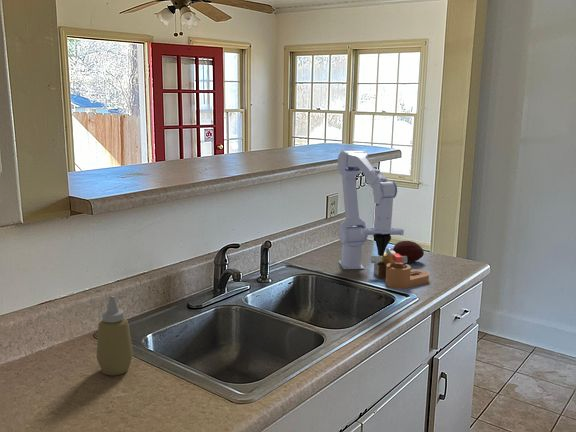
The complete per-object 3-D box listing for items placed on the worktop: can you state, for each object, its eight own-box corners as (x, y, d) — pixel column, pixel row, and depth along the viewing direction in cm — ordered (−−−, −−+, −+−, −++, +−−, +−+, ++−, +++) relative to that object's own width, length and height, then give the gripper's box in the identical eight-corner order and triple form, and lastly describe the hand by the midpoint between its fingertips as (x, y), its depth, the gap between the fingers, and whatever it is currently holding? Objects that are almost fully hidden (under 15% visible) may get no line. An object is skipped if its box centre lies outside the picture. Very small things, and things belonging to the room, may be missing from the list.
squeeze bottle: (113, 382, 122) (110, 306, 118) (89, 372, 126) (85, 298, 122) (141, 368, 129) (138, 295, 125) (117, 358, 133) (114, 288, 129)
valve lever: (385, 252, 200) (385, 247, 200) (391, 252, 200) (391, 247, 200) (395, 262, 188) (396, 257, 188) (402, 262, 188) (402, 257, 188)
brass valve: (368, 272, 203) (369, 251, 201) (402, 272, 204) (403, 251, 203) (372, 278, 197) (374, 256, 195) (407, 277, 199) (409, 256, 197)
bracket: (397, 290, 186) (398, 271, 184) (380, 283, 192) (381, 264, 191) (433, 281, 196) (435, 263, 194) (415, 275, 202) (417, 257, 201)
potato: (386, 259, 221) (387, 239, 219) (406, 255, 227) (408, 236, 225) (407, 267, 211) (408, 246, 209) (427, 263, 217) (429, 242, 215)
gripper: (365, 219, 181) (363, 258, 184) (407, 219, 183) (404, 258, 186) (360, 214, 188) (358, 252, 191) (401, 214, 190) (398, 252, 193)
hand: (380, 255), depth 189 cm, fingers closed
